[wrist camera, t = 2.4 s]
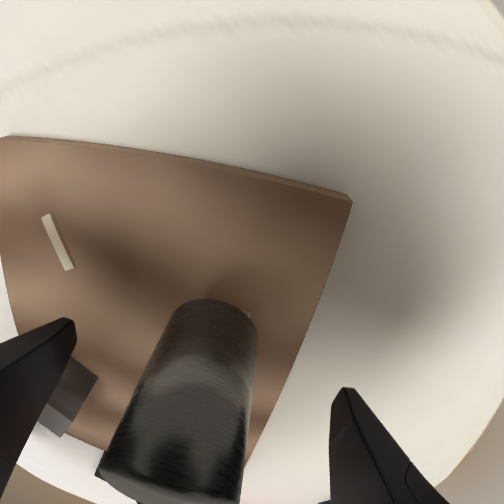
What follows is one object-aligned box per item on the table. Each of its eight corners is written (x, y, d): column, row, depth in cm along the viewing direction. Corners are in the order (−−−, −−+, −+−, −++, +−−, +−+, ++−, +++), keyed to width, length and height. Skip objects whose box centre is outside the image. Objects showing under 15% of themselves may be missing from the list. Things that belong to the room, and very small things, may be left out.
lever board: (235, 476, 23) (228, 523, 19) (59, 419, 23) (38, 456, 18) (346, 194, 13) (383, 240, 8) (8, 135, 12) (-61, 154, 8)
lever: (217, 469, 20) (199, 565, 12) (168, 457, 20) (141, 551, 12) (281, 271, 13) (274, 492, 4) (184, 248, 13) (69, 435, 4)
